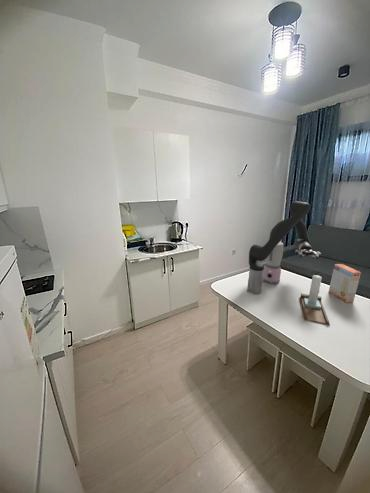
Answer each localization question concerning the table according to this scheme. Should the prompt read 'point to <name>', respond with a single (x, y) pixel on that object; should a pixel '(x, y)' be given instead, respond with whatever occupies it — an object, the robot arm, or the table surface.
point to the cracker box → (344, 282)
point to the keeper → (314, 293)
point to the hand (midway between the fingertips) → (309, 256)
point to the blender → (273, 265)
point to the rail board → (313, 311)
